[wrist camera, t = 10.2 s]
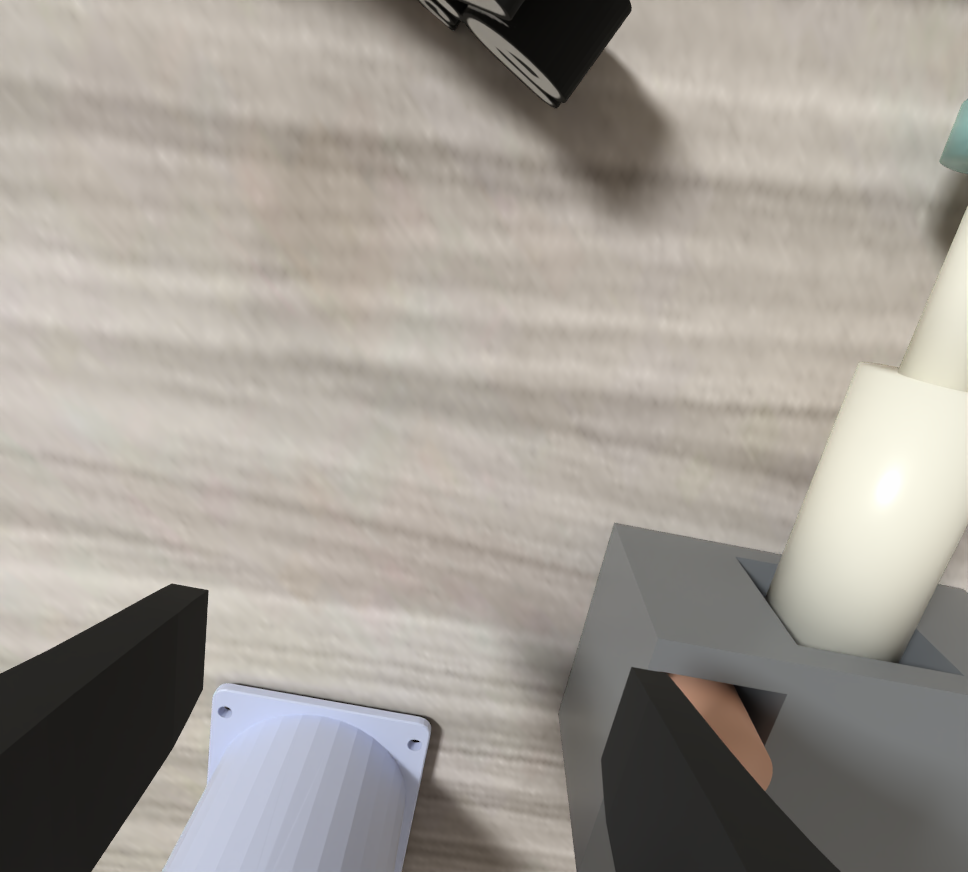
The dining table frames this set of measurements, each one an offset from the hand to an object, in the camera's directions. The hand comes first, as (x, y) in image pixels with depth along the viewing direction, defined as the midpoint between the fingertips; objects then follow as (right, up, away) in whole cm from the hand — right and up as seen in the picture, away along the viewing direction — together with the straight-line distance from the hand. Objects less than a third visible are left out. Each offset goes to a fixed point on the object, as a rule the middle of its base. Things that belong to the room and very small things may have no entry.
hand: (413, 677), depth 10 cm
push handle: (+12, +5, +7) cm, 15 cm away
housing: (+11, -4, +11) cm, 16 cm away
